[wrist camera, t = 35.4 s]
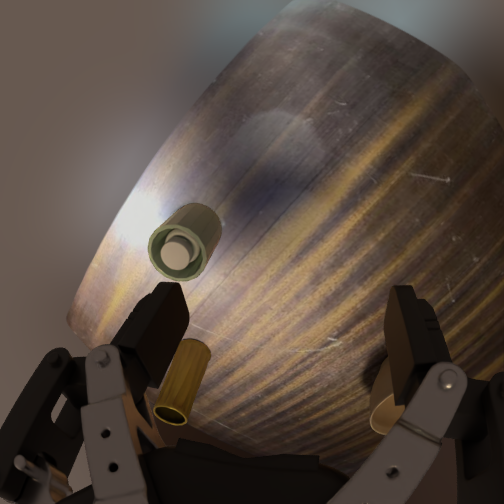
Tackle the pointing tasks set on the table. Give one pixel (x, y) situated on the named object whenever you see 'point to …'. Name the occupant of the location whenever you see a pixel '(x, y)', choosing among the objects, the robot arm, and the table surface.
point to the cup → (198, 226)
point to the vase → (182, 382)
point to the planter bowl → (383, 402)
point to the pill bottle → (179, 249)
